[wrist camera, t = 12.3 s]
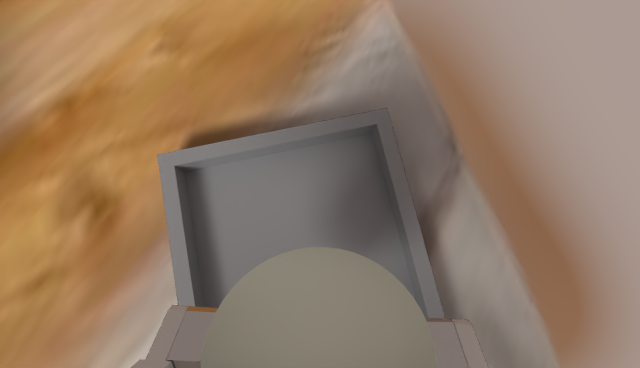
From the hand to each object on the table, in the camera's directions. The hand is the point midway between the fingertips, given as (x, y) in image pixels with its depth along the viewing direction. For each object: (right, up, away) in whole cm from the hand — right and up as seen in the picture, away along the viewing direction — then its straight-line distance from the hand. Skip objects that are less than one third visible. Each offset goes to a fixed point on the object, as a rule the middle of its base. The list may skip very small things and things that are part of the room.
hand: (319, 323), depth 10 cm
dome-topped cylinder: (0, -2, +8) cm, 8 cm away
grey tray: (-1, -3, +14) cm, 14 cm away
